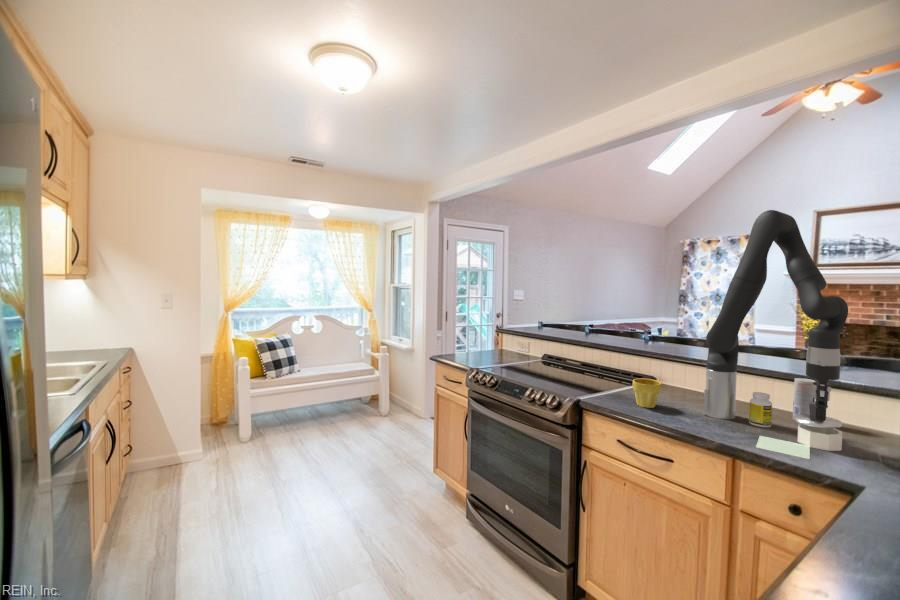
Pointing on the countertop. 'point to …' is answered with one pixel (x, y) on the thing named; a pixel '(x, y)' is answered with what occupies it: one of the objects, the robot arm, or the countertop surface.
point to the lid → (813, 422)
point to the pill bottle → (760, 410)
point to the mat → (784, 447)
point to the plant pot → (646, 392)
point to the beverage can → (802, 396)
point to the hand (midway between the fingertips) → (820, 418)
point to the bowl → (820, 437)
